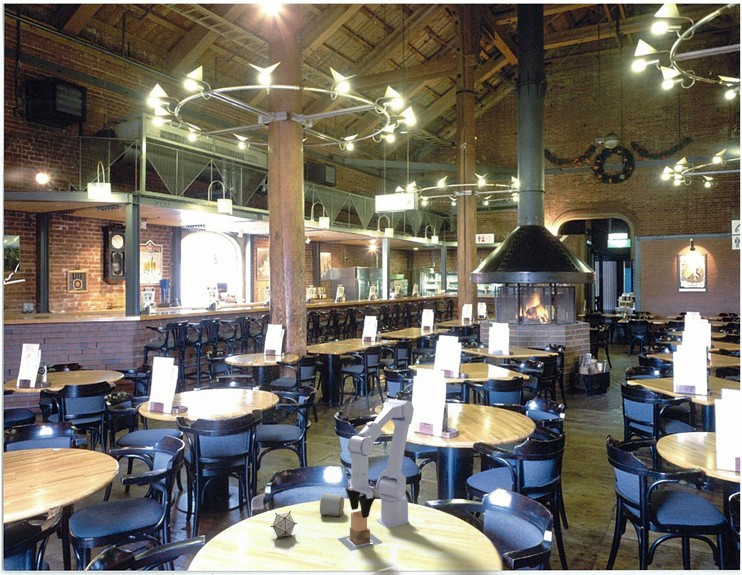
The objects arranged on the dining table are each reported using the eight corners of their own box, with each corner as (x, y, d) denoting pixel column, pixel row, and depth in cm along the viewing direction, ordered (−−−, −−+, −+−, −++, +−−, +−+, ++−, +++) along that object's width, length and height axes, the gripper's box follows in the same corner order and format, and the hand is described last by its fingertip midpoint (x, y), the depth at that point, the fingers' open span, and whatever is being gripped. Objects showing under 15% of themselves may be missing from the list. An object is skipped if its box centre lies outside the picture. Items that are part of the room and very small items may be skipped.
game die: (286, 549, 185) (290, 533, 179) (264, 538, 186) (267, 522, 181) (299, 527, 192) (302, 511, 186) (277, 517, 194) (280, 500, 188)
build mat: (368, 532, 190) (368, 531, 190) (382, 543, 181) (382, 542, 181) (337, 539, 184) (337, 538, 184) (350, 551, 175) (350, 550, 175)
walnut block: (362, 536, 186) (362, 524, 186) (370, 541, 182) (370, 529, 182) (349, 539, 183) (349, 527, 184) (356, 545, 179) (356, 532, 179)
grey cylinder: (341, 519, 201) (341, 498, 201) (319, 518, 202) (319, 497, 202) (346, 508, 211) (346, 488, 211) (325, 507, 212) (325, 487, 213)
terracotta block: (361, 525, 185) (361, 510, 185) (367, 529, 182) (367, 514, 182) (350, 527, 183) (350, 512, 183) (356, 532, 180) (356, 517, 180)
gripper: (339, 468, 187) (339, 507, 187) (359, 480, 175) (359, 523, 174) (357, 465, 191) (357, 504, 190) (378, 477, 178) (378, 519, 178)
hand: (359, 513), depth 183 cm, fingers open, 7 cm apart
